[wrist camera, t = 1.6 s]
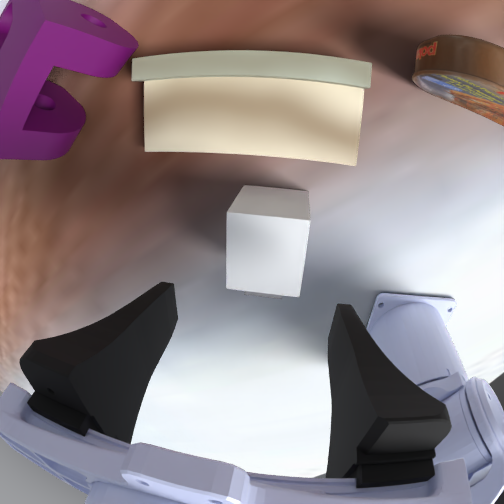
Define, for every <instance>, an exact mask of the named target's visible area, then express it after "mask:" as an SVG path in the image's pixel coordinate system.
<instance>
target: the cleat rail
mask: <svg viewBox="0 0 504 504" xmlns="http://www.w3.org/2000/svg"><path fill="white" fill-rule="evenodd" d="M371 70H372V63H369V62H363V61H358V60H352V59H345V58H339V57H332V56H324V55H315V54H305V53H294V52H279V51H253V50H225V51H200V52H185V53H173V54H164V55H155V56H147V57H140V58H134V59H132V81H144V137H145V152H206V153H229V154H246V155H260V156H273V157H284V158H294V159H304V160H313V161H321V162H330V163H337V164H345V165H352V166H356V162H357V154H358V146H359V137H360V129H361V119H362V109H363V98H364V89H367V88H370V84H371Z"/></svg>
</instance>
